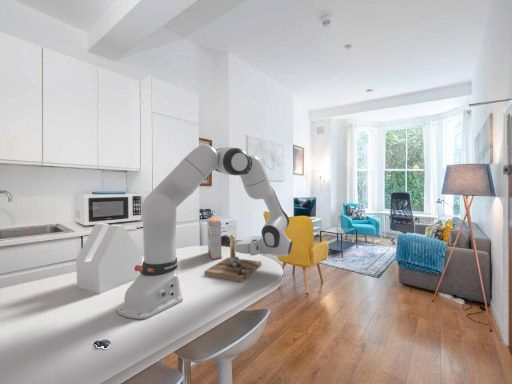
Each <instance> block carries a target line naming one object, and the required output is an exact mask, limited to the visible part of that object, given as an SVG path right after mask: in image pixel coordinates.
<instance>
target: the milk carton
mask: <svg viewBox="0 0 512 384" xmlns="http://www.w3.org/2000/svg"><path fill="white" fill-rule="evenodd" d="M81 247H82V248H81V249H80V251H79V253H78V255H77V257H76V258H75V267H76V271H75V272H76V287H77V286H78V287H77V288H79V289H80V288H81V289H82V290H83V289H84V290H87V291H89V292H92V293H96V294H99V295H101V294H104V293H107V292H108V291H111V290H113V289H115V288H116V289H117V288H118V287H121V286H124V285H126V284H128V283H131V282H134V281H135V280H136V278H137V277H138V276H139V275H140V272H139V271H135V269H134V267H135V266H136V265H139V266H142V264H143V260H142V259H143V257H142V256H143V255H142V250H141V249H140V248H139V247H138V245H137V243H136V242H135V240H134V239H133V238H132V236H131V235H130V233H129V232H128V231H127V229H126V228H125V226H124V225H121V224H109V223H105V222H97V223H95V224H94V225H93V227H92V229H91V232H90V233H89V235H88V237H87V238H86V240H85V242H84V244H83V246H81Z"/></svg>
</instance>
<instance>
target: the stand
mask: <svg viewBox="0 0 512 384" xmlns="http://www.w3.org/2000/svg"><path fill="white" fill-rule="evenodd" d="M229 261H230V257H226V258H224V259H223V260H221V261H219V262H218V263H216V264H214V265H212V266H211V267H209V268H207V269H206V270H203V271H204V272H203V274H204V276H207V277H213V278H218V279H224V280H231V281H236V282H240V283H241V282H242V283H243V281H245V280H246V279H247V278H248V277H249V276H250V275H252V274H253V273H254V272H256V270H258V269H259V268H260V267H261V266H262V261H260V260H252V259H245V258H244V259H242V258H239V261H240V262H241V265H239V266H237V267H232V266H228V265H227V263H228V262H229Z"/></svg>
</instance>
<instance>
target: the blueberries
mask: <svg viewBox="0 0 512 384" xmlns="http://www.w3.org/2000/svg"><path fill="white" fill-rule="evenodd" d="M110 342H111V341H110V340H109V339H101V340H95V341H94V342H93V345H94V344H96V345H97V347H101V346H104V348H107V347H108V346H109V344H110V345H111V343H110Z"/></svg>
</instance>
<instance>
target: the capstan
mask: <svg viewBox="0 0 512 384" xmlns="http://www.w3.org/2000/svg"><path fill="white" fill-rule="evenodd" d="M234 241H236V235H235V234H230V235H229V242H230V243H229V244H230V246H229V248H230V261H229V262H228V263H227V265H228V266H232V267H237V266H239V265H241V262H240V261H239V259H240V258H239V256H236V251H235V245H234Z"/></svg>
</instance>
